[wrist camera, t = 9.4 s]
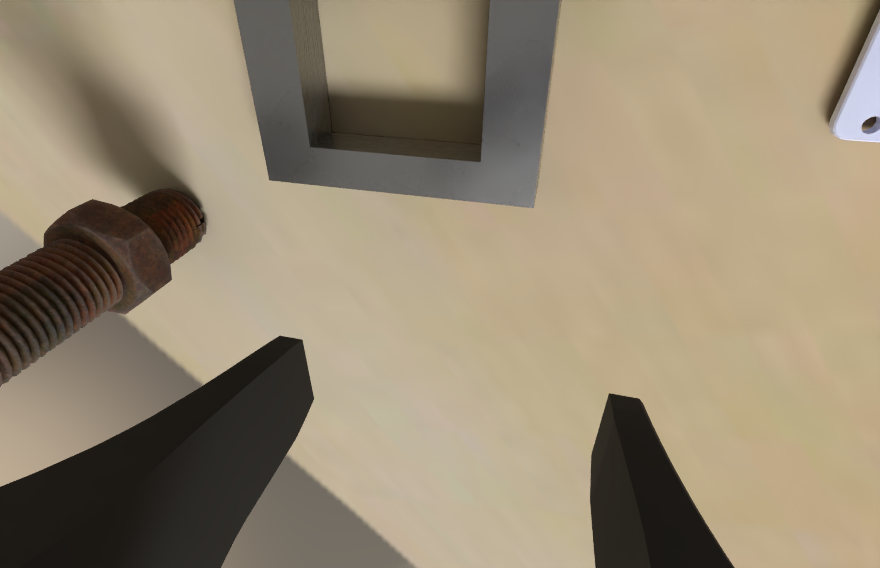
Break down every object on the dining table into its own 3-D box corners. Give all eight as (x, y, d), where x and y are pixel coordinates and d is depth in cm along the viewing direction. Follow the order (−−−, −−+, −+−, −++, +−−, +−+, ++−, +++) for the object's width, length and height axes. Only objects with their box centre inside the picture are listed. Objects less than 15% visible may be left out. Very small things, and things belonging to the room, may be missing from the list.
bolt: (115, 158, 23) (-410, 371, 11) (203, 157, 22) (-278, 396, 10) (163, 263, 26) (-204, 520, 14) (242, 267, 25) (-83, 554, 13)
